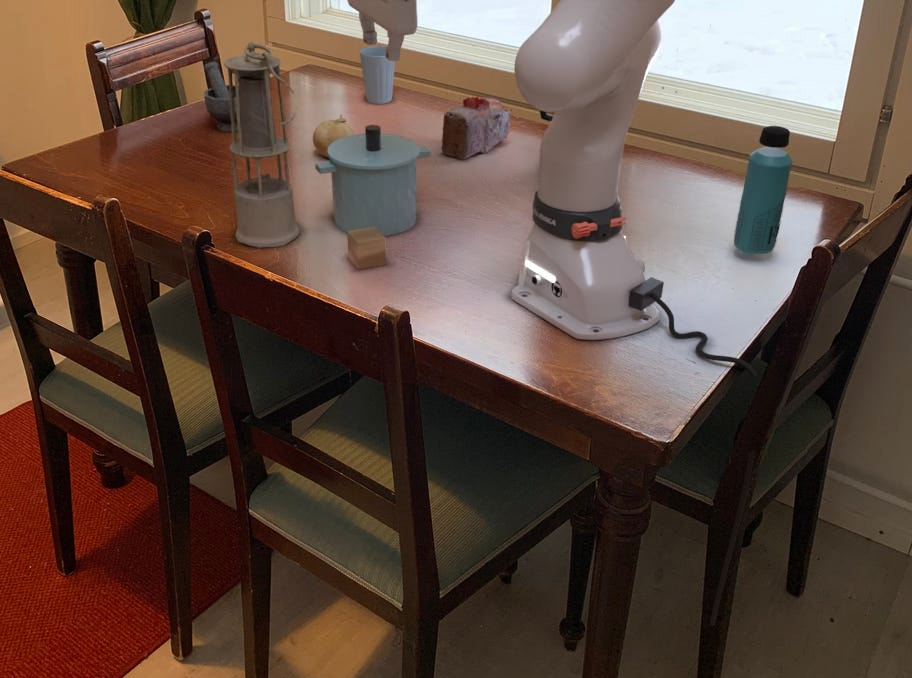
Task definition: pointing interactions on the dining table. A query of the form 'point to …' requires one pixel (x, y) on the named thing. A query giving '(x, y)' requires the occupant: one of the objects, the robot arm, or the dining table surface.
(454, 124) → the food item
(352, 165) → the pot lid
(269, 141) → the lamp
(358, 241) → the block
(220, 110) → the mortar and pestle
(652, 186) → the dining table surface
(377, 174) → the pot
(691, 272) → the dining table surface
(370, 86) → the cup
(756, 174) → the beverage bottle
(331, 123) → the onion
